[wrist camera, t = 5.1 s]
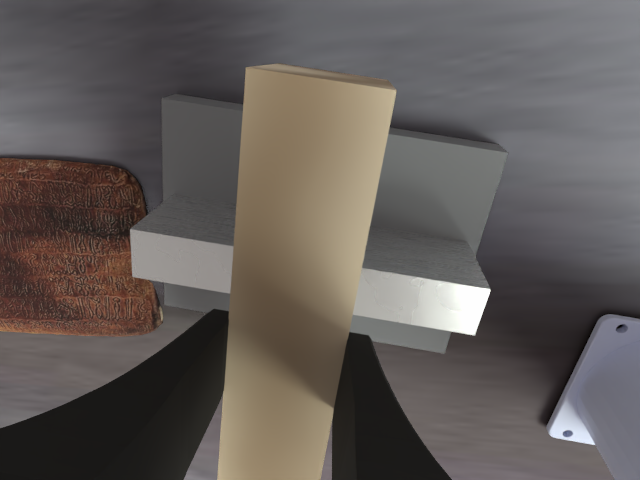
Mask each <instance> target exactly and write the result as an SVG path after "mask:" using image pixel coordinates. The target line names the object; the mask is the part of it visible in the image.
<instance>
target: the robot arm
mask: <svg viewBox="0 0 640 480" xmlns="http://www.w3.org/2000/svg"><path fill="white" fill-rule="evenodd" d="M621 324H623V326H622V327H621V328H617V327H618V326H619V325H621ZM228 327H229V311H225V310H219V309H213V310H211V311H210V312H208V313H207V314H206V315H205V316H204V317H202V318H201V319H200V320H199V321H198V322H196V323H195V324H194V325H193V326H191V327H190V328H189V329H188V330H186V331H185V332H184V333H183V334H181V335H180V336H179V337H177V338H176V339H175V340H173V341H172V342H171V343H170V344H168V345H167V346H166V347H164V348H163V349H161V350H160V351H159V352H157V353H156V354H154V355H153V356H151V357H150V358H148V359H147V360H145V361H144V362H142V363H141V364H140V365H138V366H136V367H135V368H133V369H132V370H130V371H128V372H127V373H125V374H124V375H122V376H120V377H118V378H117V379H115V380H113V381H111V382H109V383H108V384H106V385H104V386H102V387H100V388H98V389H96V390H94V391H92V392H89V393H87V394H85V395H83V396H81V397H79V398H77V399H75V400H73V401H71V402H68V403H66V404H64V405H62V406H59V407H57V408H54V409H52V410H50V411H47V412H45V413H42V414H40V415H37V416H34V417H32V418H29V419H26V420H24V421H21V422H18V423H15V424H12V425H10V426H6V427H3V428H0V480H183V479H184V477H185V475H186V472H187V470H188V468H189V466H190V464H191V461H192V459H193V457H194V455H195V453H196V451H197V449H198V447H199V445H200V442H201V440H202V438H203V436H204V434H205V432H206V430H207V428H208V426H209V423H210V421H211V419H212V417H213V415H214V413H215V411H216V408H217V406H218V404H219V402H220V400H221V397H222V394H223V391H224V385H225V370H226V356H227V341H228ZM566 430H568V431H566ZM547 431H548V433H549V435H550V436H551V437H554V438H559V439H564V440H570V441H576V442H581V443H587V444H593V445H596V447H597V449H598V451H599V452H600V454H601V456H602V458H603V460H604V462H605V463H606V465H607V467H608V469H609V471H610V472H611V474H612V476H613V478H614V480H640V319H637V318H631V317H625V316H619V315H613V314H607V315H604V316H602V317H601V318H599V320H598V321H597V323H596V325H595V327H594V329H593V331H592V333H591V336H590V338H589V340H588V342H587V344H586V346H585V348H584V350H583V352H582V354H581V356H580V358H579V360H578V362H577V364H576V366H575V369H574V371H573V373H572V375H571V377H570V379H569V381H568V383H567V385H566V387H565V389H564V391H563V393H562V395H561V397H560V400H559V402H558V404H557V406H556V408H555V410H554V412H553V414H552V416H551V418H550V420H549V422H548V424H547ZM332 480H452V479H451V478H450V477H449V476H448V474H447V473H446V472H445V471H444V470H443V468H442V467H441V466H440V465H439V464H438V462H437V461H436V460H435V458H434V457H433V456H432V454H431V453H430V452H429V450H428V449H427V448H426V446H425V445H424V443H423V442H422V440H421V439H420V437H419V436H418V434H417V433H416V431H415V430H414V428H413V427H412V425H411V424H410V422H409V420H408V419H407V417H406V415H405V414H404V412H403V410H402V408H401V406H400V405H399V403H398V401H397V399H396V397H395V395H394V393H393V391H392V389H391V387H390V385H389V383H388V381H387V379H386V377H385V374H384V372H383V370H382V368H381V365H380V363H379V360H378V358H377V355H376V352H375V349H374V346H373V343H372V339H371V338H370V337H369V335H365V334H359V333H353V332H349V336H348V339H347V343H346V349H345V354H344V359H343V364H342V369H341V374H340V379H339V384H338V389H337V394H336V400H335V405H334V411H333V422H332Z"/></svg>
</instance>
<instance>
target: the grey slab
mask: <svg viewBox="0 0 640 480" xmlns="http://www.w3.org/2000/svg"><path fill="white" fill-rule="evenodd" d="M161 115H162V183H163V202H164V201H165V200H166V199H168V198H169V197H170V196H171V195H172V194H180V195H186V196H192V197H198V198H204V199H210V200H216V201H222V202H229V203H235V204H237V189H238V175H239V160H240V146H241V131H242V117H243V104H238V103H231V102H225V101H218V100H212V99H206V98H199V97H193V96H187V95H180V94H173V95H170V96H167V97H164V98H161ZM507 156H508V152H507V151H506V150H505V149H503V148H502V147H501V146H500V145H499V144H493V143H486V142H480V141H474V140H467V139H461V138H454V137H448V136H442V135H435V134H429V133H423V132H416V131H410V130H403V129H397V128H391V127H390V128H389V133H388V138H387V143H386V148H385V153H384V158H383V163H382V168H381V173H380V178H379V183H378V189H377V194H376V199H375V204H374V209H373V214H372V219H371V224H370V226H375V227H381V228H387V229H393V230H399V231H405V232H411V233H417V234H423V235H429V236H436V237H442V238H448V239H454V240H460V241H466V242H468V243H469V245H470V247H471V249H472V251H473V253H474V255H475V256H476V253H477V250H478V247H479V244H480V241H481V238H482V234H483V231H484V228H485V225H486V222H487V219H488V216H489V213H490V209H491V206H492V203H493V200H494V197H495V194H496V191H497V188H498V184H499V181H500V178H501V175H502V172H503V169H504V166H505V163H506V159H507ZM164 305H166V306H172V307H177V308H183V309H189V310H195V311H201V312H206V313H208V312H210V311H211V310H213V309H219V310H225V311H229V305H230V294H229V293H223V292H217V291H212V290H206V289H200V288H194V287H188V286H182V285H177V284H171V283H165V282H164ZM349 332H353V333H359V334H365V335H369V337H370V338H371V339H372V341H374V342H380V343H386V344H392V345H398V346H403V347H409V348H415V349H421V350H427V351H432V352H438V353H445V350H446V347H447V344H448V341H449V338H450V335H451V331H446V330H440V329H434V328H428V327H422V326H416V325H411V324H405V323H399V322H393V321H387V320H381V319H375V318H370V317H364V316H358V315H353V316H352V321H351V326H350V331H349Z"/></svg>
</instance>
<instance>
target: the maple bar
mask: <svg viewBox="0 0 640 480" xmlns="http://www.w3.org/2000/svg"><path fill="white" fill-rule="evenodd" d="M396 92H397V90H396V89H395V88H394V87H393V85H392V84H391V83H390V82H389V81H388V80H385V79H378V78H372V77H365V76H358V75H352V74H345V73H339V72H332V71H326V70H319V69H313V68H306V67H300V66H293V65H287V64H280V63H279V64H270V65H261V66H252V67H246V73H245V88H244V102H243V117H242V131H241V146H240V160H239V175H238V189H237V204H236V218H235V233H234V247H233V262H232V276H231V291H230V305H229V327H228V341H227V356H226V370H225V385H224V392H223V406H222V421H221V435H220V450H219V464H218V479H217V480H320V478H321V473H322V468H323V463H324V458H325V453H326V448H327V443H328V437H329V432H330V427H331V422H332V417H333V411H334V405H335V400H336V394H337V389H338V384H339V379H340V374H341V369H342V364H343V359H344V354H345V349H346V343H347V339H348V336H349V331H350V326H351V321H352V316H353V310H354V305H355V300H356V295H357V290H358V285H359V280H360V275H361V270H362V265H363V260H364V255H365V249H366V244H367V239H368V234H369V229H370V224H371V219H372V214H373V209H374V204H375V199H376V194H377V189H378V183H379V178H380V173H381V168H382V163H383V158H384V153H385V148H386V143H387V138H388V133H389V128H390V122H391V117H392V112H393V107H394V102H395V97H396Z"/></svg>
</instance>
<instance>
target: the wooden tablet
mask: <svg viewBox="0 0 640 480" xmlns="http://www.w3.org/2000/svg"><path fill="white" fill-rule="evenodd" d="M146 206H147V205H146V202H145V198H144V195H143V191H142V187H141V185H140V184H139V183H138V181H137V180H136V179H135V177H134V176H133V175H132V174H130V173H129V172H128V171H127V170H124V169H121V168H118V167H115V166H107V165H101V164H99V165H95V164H92V163H81V162H71V161H59V160H39V159H37V160H32V159H16V158H0V331H10V332H27V333H46V334H65V335H84V336H88V335H89V336H131V335H143V334H146V333H150V332H152V331H154V330H156V329H157V328H158V326H159V325H161V324H162V323H163V313H162V309H161V306H160V303H159V300H158V296H157V294H156V291H155V288H154V286H153V284H152V283H151V282H150V281H149V280H147V279H141V278H136V277H132V259H131V239H130V229H131V228H132V227H133V226H134V225H136V224H137V223H138V222H139V221H141V220H142V219H143V218H144V217H145V216H147V215H148V214H147V209H146Z"/></svg>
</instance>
